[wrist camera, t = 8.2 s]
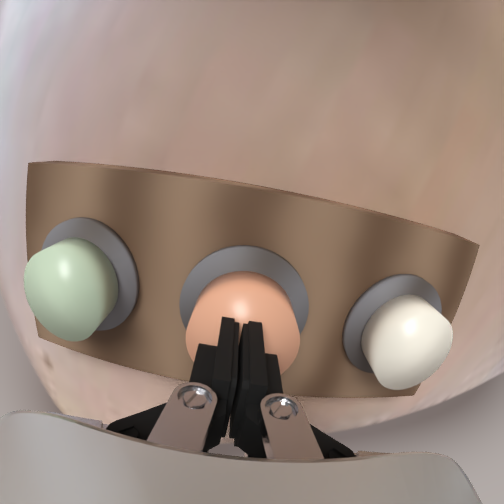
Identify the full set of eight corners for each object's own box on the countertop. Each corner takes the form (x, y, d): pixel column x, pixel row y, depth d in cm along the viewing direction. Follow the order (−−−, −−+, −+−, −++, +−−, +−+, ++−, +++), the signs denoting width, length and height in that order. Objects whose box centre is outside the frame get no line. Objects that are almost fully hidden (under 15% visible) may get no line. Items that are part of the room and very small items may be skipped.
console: (454, 233, 17) (485, 247, 14) (399, 372, 21) (416, 400, 17) (55, 160, 16) (22, 163, 12) (58, 318, 19) (34, 341, 16)
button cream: (443, 298, 14) (465, 317, 12) (413, 365, 16) (429, 387, 13) (378, 289, 14) (397, 310, 12) (349, 363, 15) (361, 390, 13)
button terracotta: (303, 279, 14) (313, 302, 11) (280, 361, 15) (284, 390, 13) (200, 262, 13) (190, 282, 11) (190, 347, 15) (182, 376, 12)
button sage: (119, 245, 13) (97, 260, 11) (119, 328, 15) (102, 352, 12) (46, 231, 13) (20, 242, 11) (52, 308, 14) (30, 326, 12)
